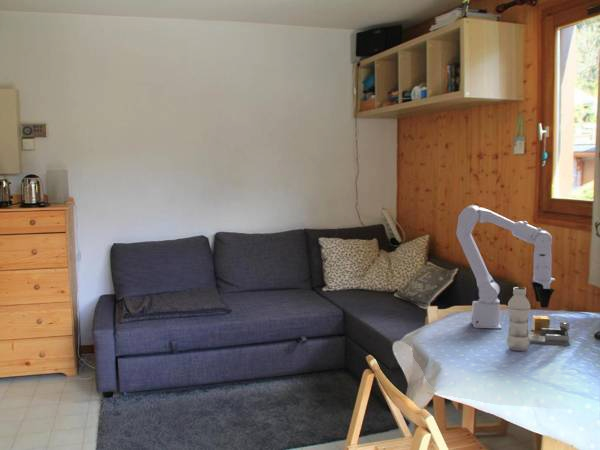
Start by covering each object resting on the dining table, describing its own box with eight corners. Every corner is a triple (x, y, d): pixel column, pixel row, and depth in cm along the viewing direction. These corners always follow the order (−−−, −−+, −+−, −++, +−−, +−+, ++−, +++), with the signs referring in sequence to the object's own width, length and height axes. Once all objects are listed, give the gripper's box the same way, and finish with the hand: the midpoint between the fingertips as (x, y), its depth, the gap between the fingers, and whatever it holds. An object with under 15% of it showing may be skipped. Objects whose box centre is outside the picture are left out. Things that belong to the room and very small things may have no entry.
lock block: (534, 332, 197) (534, 318, 196) (532, 329, 201) (532, 315, 200) (549, 333, 196) (550, 319, 195) (547, 329, 200) (548, 316, 199)
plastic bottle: (531, 353, 176) (533, 291, 174) (508, 352, 178) (510, 290, 175) (527, 346, 183) (529, 286, 180) (505, 345, 184) (506, 285, 181)
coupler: (530, 343, 186) (530, 326, 185) (524, 333, 196) (525, 317, 195) (572, 345, 183) (573, 327, 183) (564, 335, 193) (565, 318, 192)
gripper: (560, 270, 188) (559, 310, 189) (550, 262, 202) (549, 299, 203) (537, 270, 189) (536, 309, 191) (529, 262, 203) (528, 299, 205)
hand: (541, 304), depth 197 cm, fingers open, 7 cm apart
